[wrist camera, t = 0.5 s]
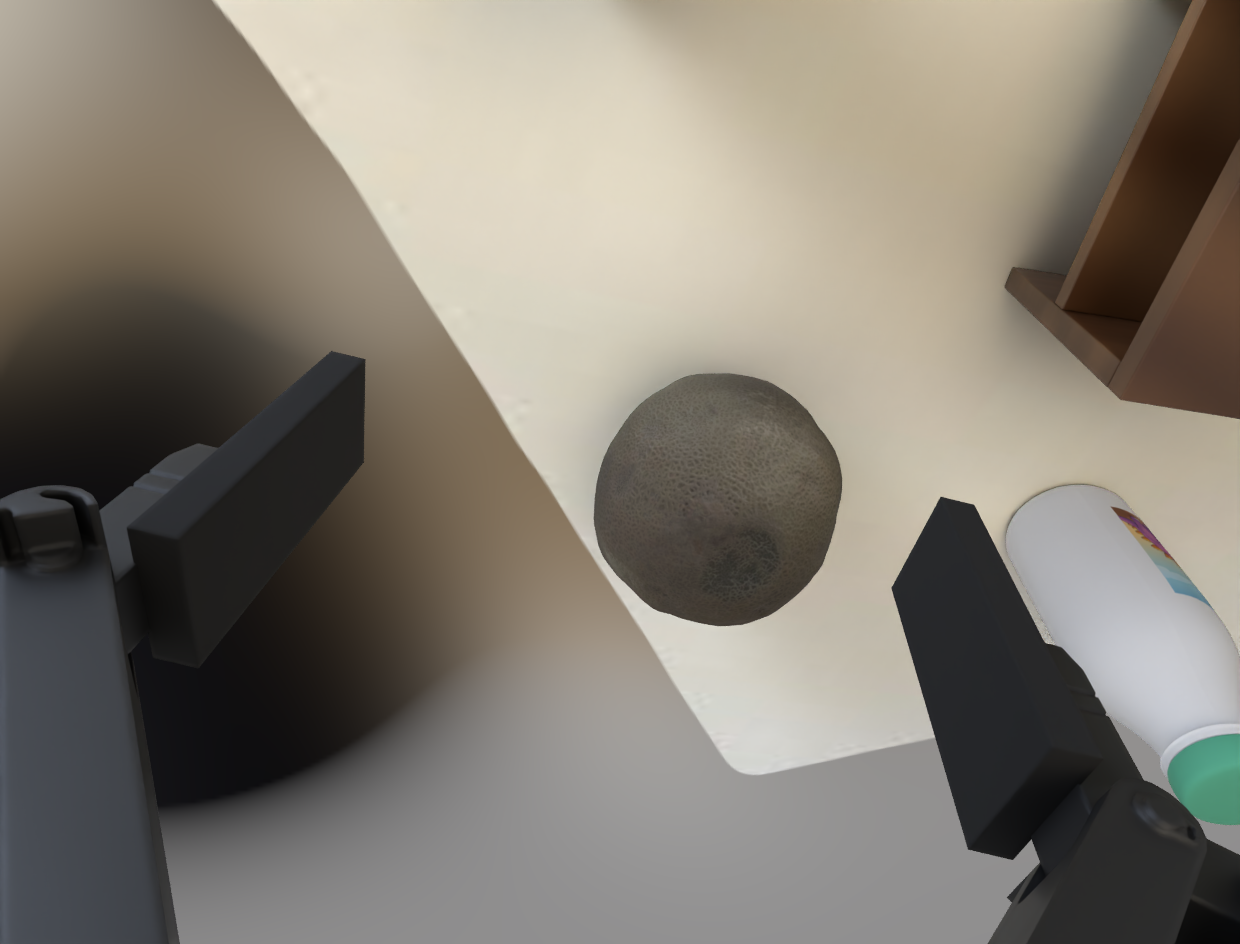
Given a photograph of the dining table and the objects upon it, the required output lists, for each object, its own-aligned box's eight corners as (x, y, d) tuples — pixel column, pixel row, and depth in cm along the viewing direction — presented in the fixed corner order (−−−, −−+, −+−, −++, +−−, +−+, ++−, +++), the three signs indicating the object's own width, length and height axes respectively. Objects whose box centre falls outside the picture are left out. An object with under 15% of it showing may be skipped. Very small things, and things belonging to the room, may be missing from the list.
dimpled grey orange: (862, 470, 49) (911, 630, 36) (675, 547, 54) (660, 710, 41) (768, 287, 43) (786, 400, 30) (569, 392, 48) (514, 526, 36)
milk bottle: (999, 578, 52) (1132, 850, 35) (1005, 487, 48) (1158, 742, 31) (1121, 569, 50) (1322, 849, 33) (1137, 473, 46) (1374, 735, 30)
